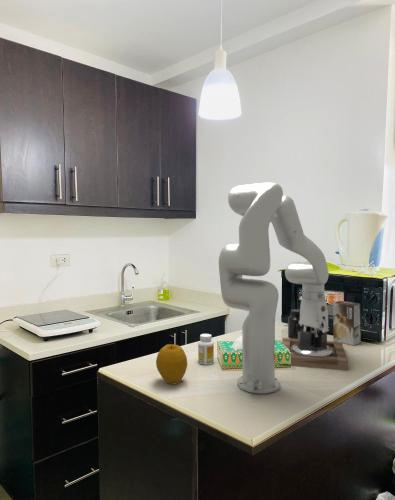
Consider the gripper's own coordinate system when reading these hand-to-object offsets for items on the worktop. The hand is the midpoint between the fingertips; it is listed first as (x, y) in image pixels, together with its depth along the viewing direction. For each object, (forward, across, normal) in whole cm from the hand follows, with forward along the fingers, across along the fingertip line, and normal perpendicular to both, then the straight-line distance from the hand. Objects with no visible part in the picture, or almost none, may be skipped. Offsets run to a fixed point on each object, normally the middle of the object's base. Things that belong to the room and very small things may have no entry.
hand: (312, 345), depth 139 cm
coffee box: (+5, +7, -25) cm, 26 cm away
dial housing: (+4, 0, 0) cm, 4 cm away
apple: (+4, +4, +54) cm, 54 cm away
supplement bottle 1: (+4, +14, +37) cm, 40 cm away
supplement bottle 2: (+4, +20, -10) cm, 23 cm away
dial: (+3, 0, 0) cm, 3 cm away
